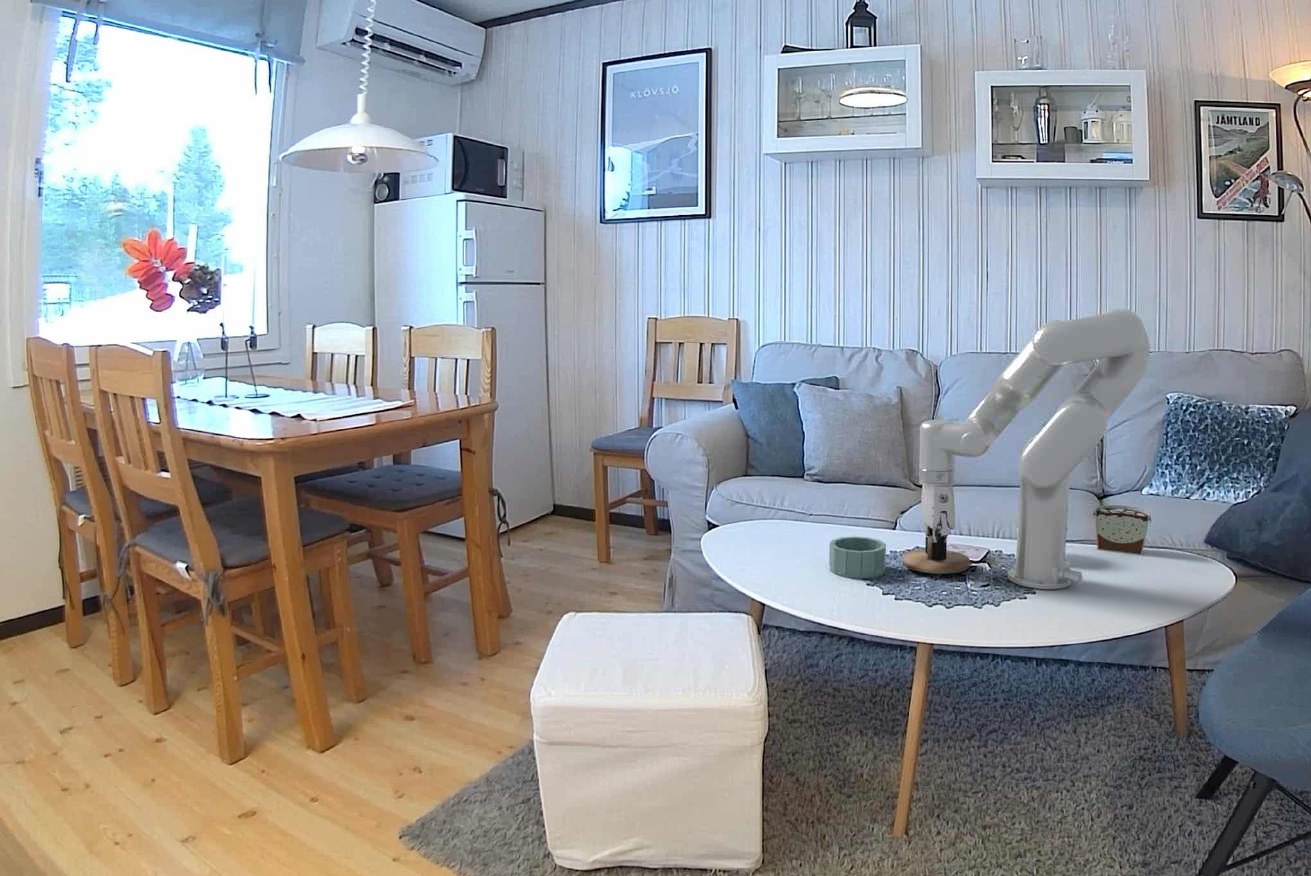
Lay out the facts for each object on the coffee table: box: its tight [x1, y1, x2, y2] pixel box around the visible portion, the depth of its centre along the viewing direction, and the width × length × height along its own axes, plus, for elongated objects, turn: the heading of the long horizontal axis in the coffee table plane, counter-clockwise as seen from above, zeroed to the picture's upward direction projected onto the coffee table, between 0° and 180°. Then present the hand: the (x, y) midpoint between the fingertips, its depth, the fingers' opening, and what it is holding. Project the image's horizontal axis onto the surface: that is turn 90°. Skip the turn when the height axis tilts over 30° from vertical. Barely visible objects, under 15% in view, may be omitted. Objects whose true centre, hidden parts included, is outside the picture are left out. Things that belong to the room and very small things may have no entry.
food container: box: [1092, 504, 1152, 556], centre depth 215 cm, size 12×6×10 cm, turn 58°
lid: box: [901, 535, 971, 575], centre depth 204 cm, size 14×14×7 cm
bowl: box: [828, 536, 887, 580], centre depth 204 cm, size 12×12×6 cm
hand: (935, 555), depth 204 cm, fingers closed on lid, 3 cm apart
